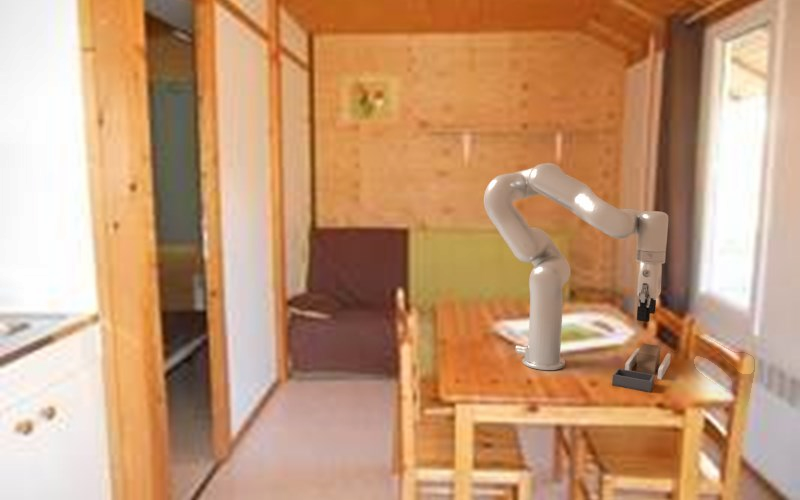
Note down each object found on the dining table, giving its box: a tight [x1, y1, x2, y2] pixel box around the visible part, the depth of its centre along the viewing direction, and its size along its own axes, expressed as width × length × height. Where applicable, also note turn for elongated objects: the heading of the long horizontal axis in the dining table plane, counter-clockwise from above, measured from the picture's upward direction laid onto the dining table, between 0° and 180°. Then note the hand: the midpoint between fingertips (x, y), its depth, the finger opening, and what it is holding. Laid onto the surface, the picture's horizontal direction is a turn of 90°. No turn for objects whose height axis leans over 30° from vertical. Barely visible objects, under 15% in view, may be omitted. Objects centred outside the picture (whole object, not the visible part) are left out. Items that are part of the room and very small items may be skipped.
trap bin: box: [611, 368, 656, 393], centre depth 182 cm, size 10×6×3 cm, turn 60°
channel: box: [624, 347, 672, 381], centre depth 195 cm, size 10×16×3 cm, turn 150°
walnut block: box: [635, 343, 661, 376], centre depth 195 cm, size 5×10×6 cm, turn 151°
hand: (646, 316), depth 184 cm, fingers open, 9 cm apart
